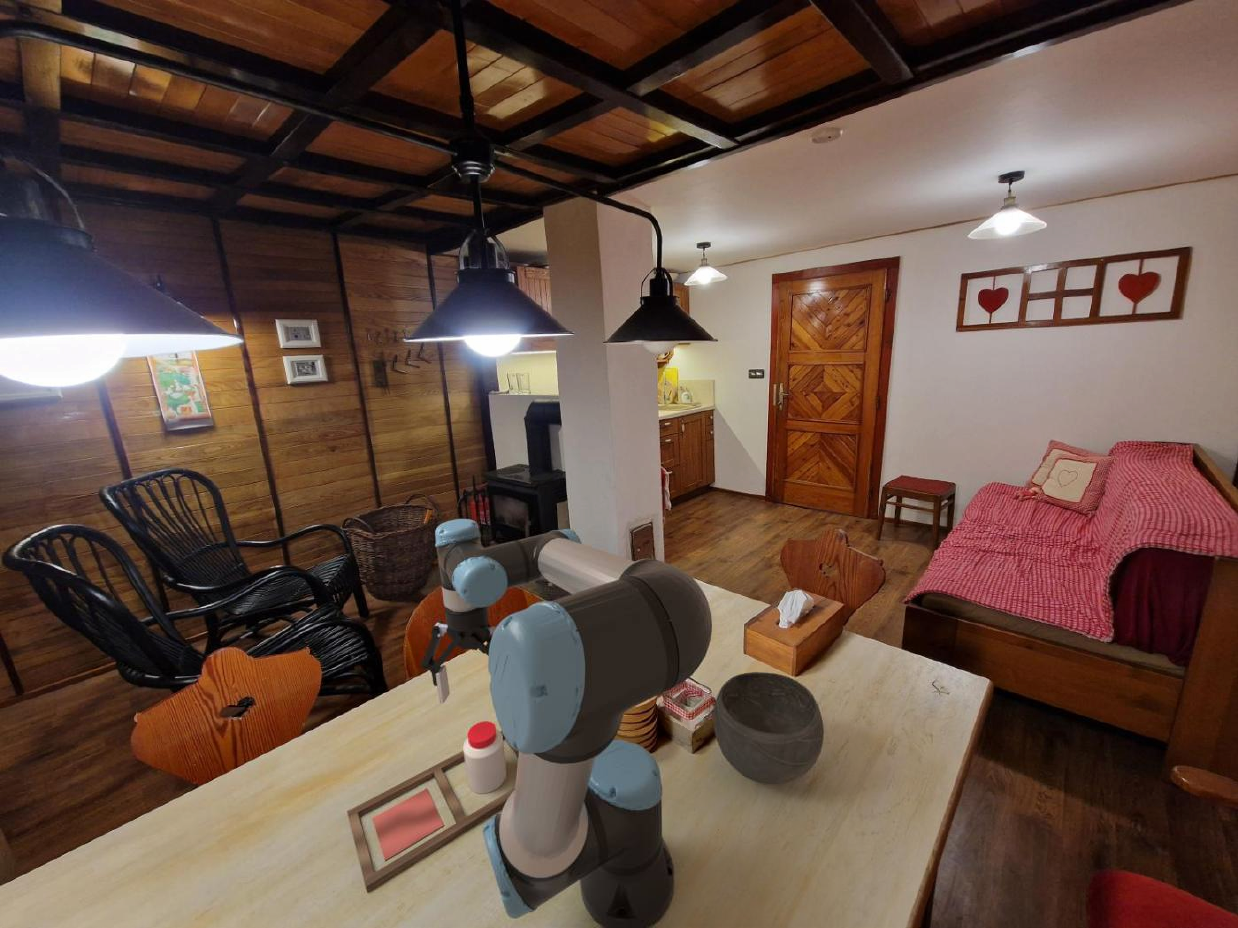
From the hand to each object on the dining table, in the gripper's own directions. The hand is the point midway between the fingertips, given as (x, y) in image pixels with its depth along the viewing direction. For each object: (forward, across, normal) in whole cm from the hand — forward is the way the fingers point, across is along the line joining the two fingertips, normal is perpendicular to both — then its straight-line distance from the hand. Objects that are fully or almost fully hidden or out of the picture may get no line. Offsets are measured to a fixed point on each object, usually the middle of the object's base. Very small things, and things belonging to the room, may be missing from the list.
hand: (477, 700), depth 96 cm
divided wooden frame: (+18, +5, +6) cm, 19 cm away
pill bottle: (+18, 0, 0) cm, 18 cm away
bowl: (+18, -56, -8) cm, 60 cm away
